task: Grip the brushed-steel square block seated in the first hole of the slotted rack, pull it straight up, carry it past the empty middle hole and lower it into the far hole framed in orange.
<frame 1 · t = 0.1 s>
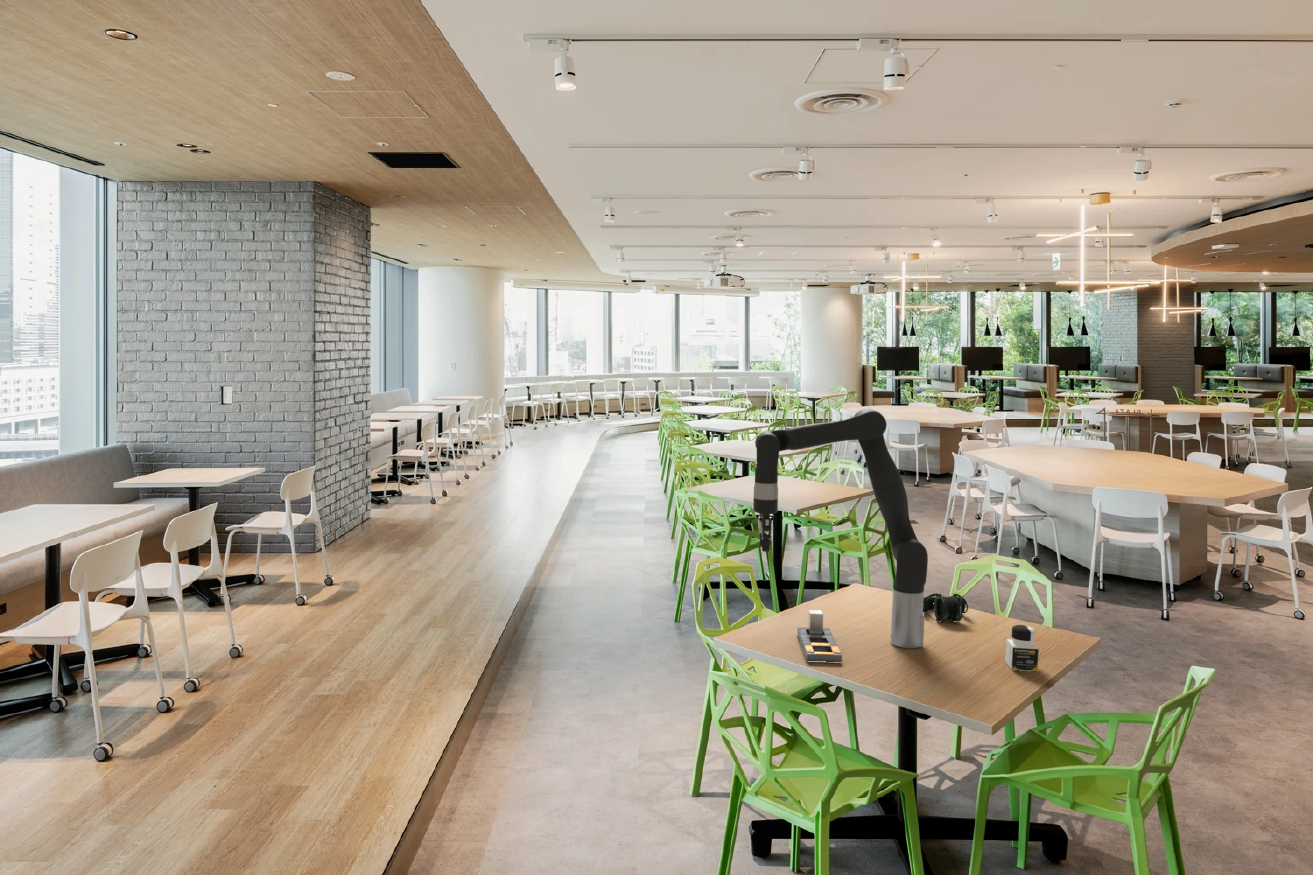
hand: (764, 548, 265), 29 cm above the table, tool pointing down, fingers open, 8 cm apart
medicine bottle: (1021, 667, 247), on the table
steel block: (814, 639, 268), resting in slotted rack
slotted rack: (818, 648, 260), on the table
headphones: (943, 618, 295), on the table
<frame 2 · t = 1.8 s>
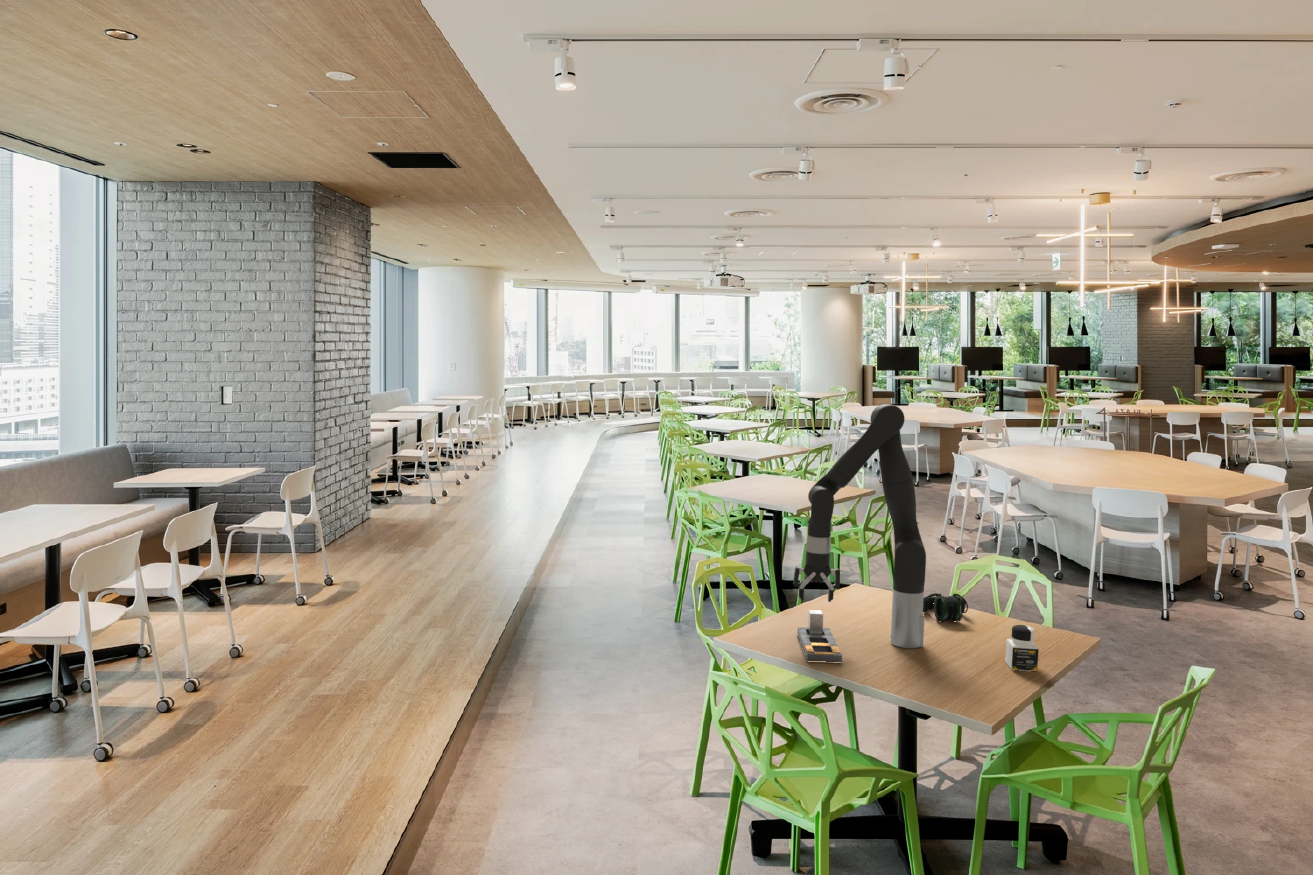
hand: (815, 600, 267), 13 cm above the table, tool pointing down, fingers open, 8 cm apart
nothing on the table moved.
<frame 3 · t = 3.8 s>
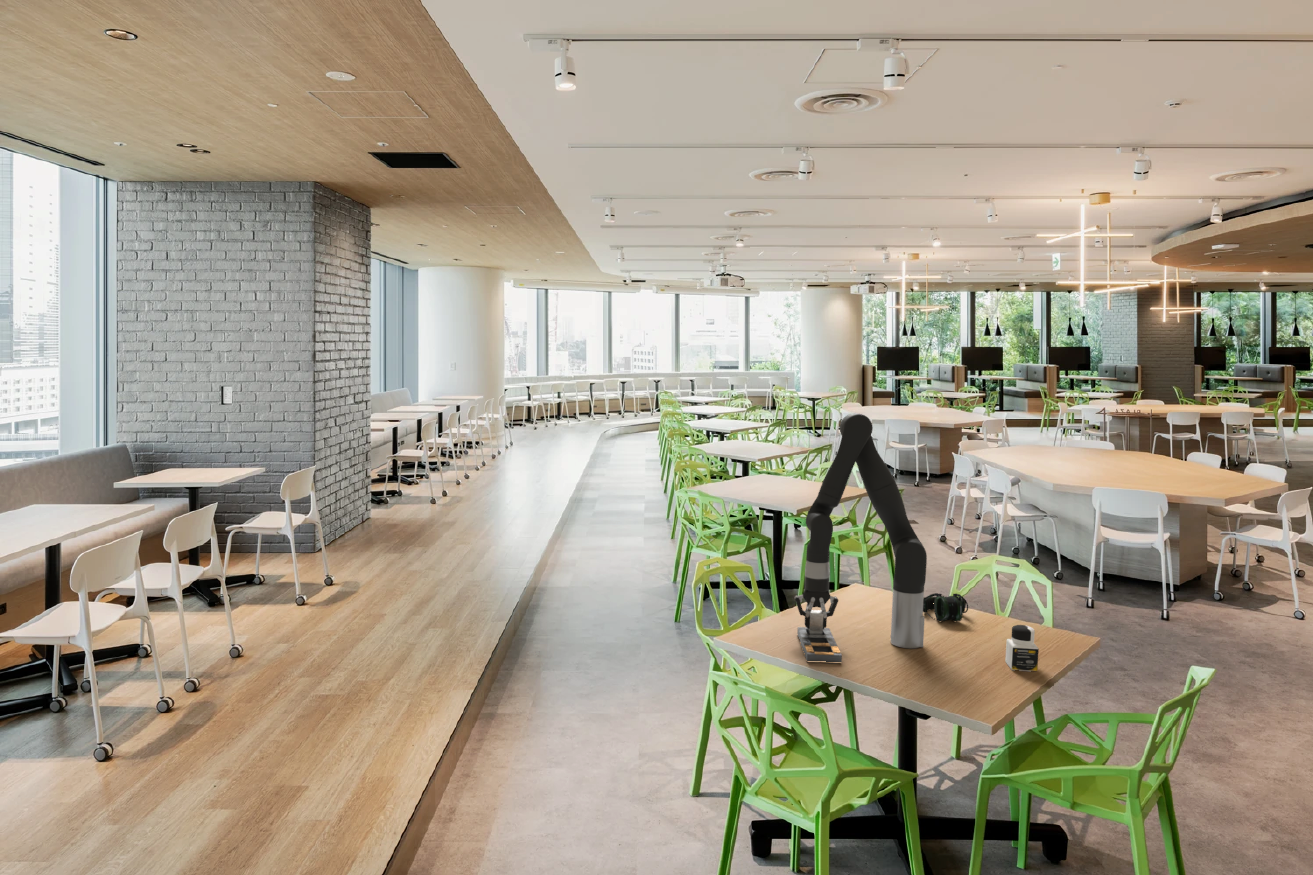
hand: (815, 628, 268), 4 cm above the table, tool pointing down, fingers closed on steel block, 4 cm apart
steel block: (814, 639, 268), resting in slotted rack, touching gripper
everything else where it was.
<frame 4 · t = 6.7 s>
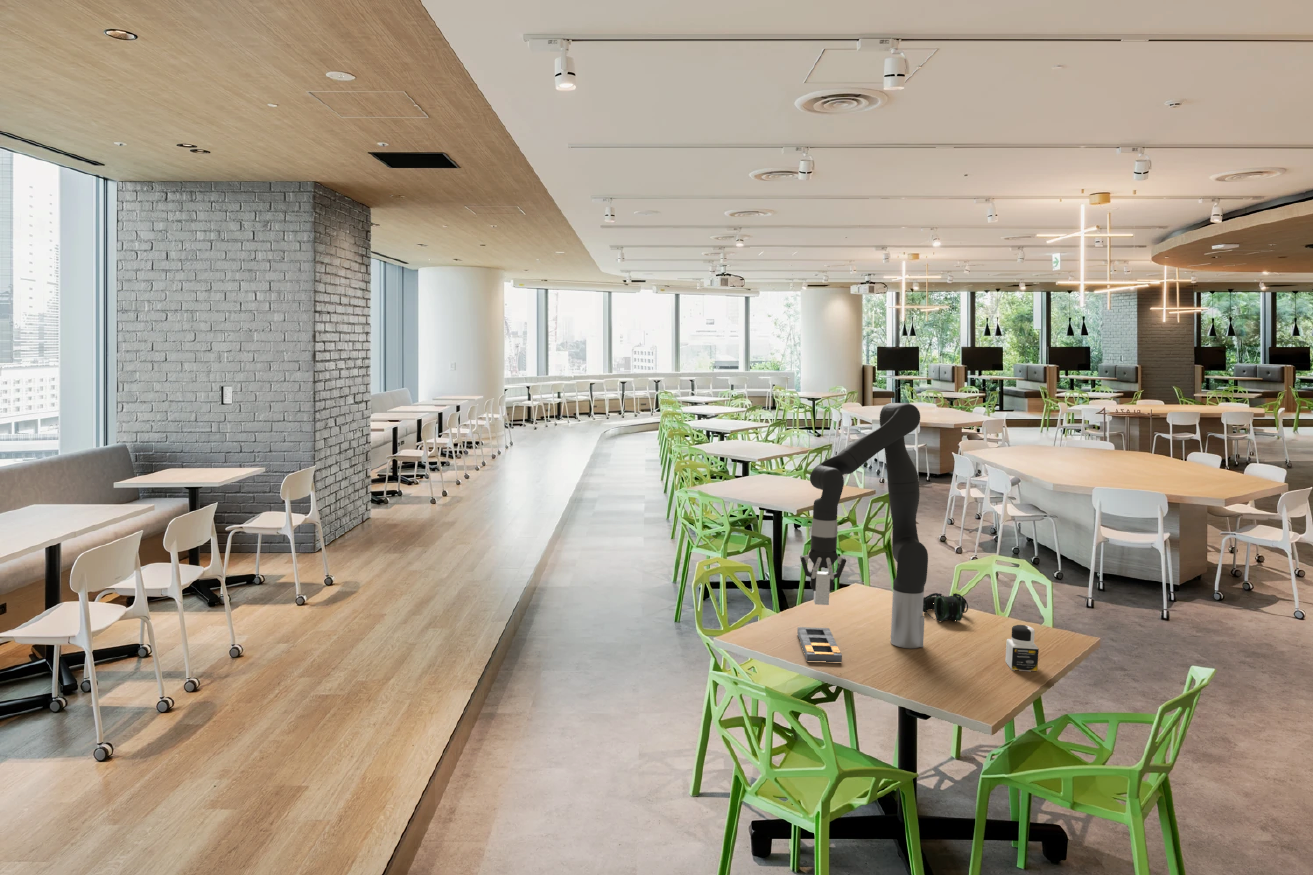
hand: (821, 590, 253), 20 cm above the table, tool pointing down, fingers closed on steel block, 4 cm apart
steel block: (821, 602, 254), point 16 cm above the table, touching gripper
everything else where it was.
when the fingers open (5 cm above the table, at t = 9.8 s): steel block drops 1 cm, resting in slotted rack.
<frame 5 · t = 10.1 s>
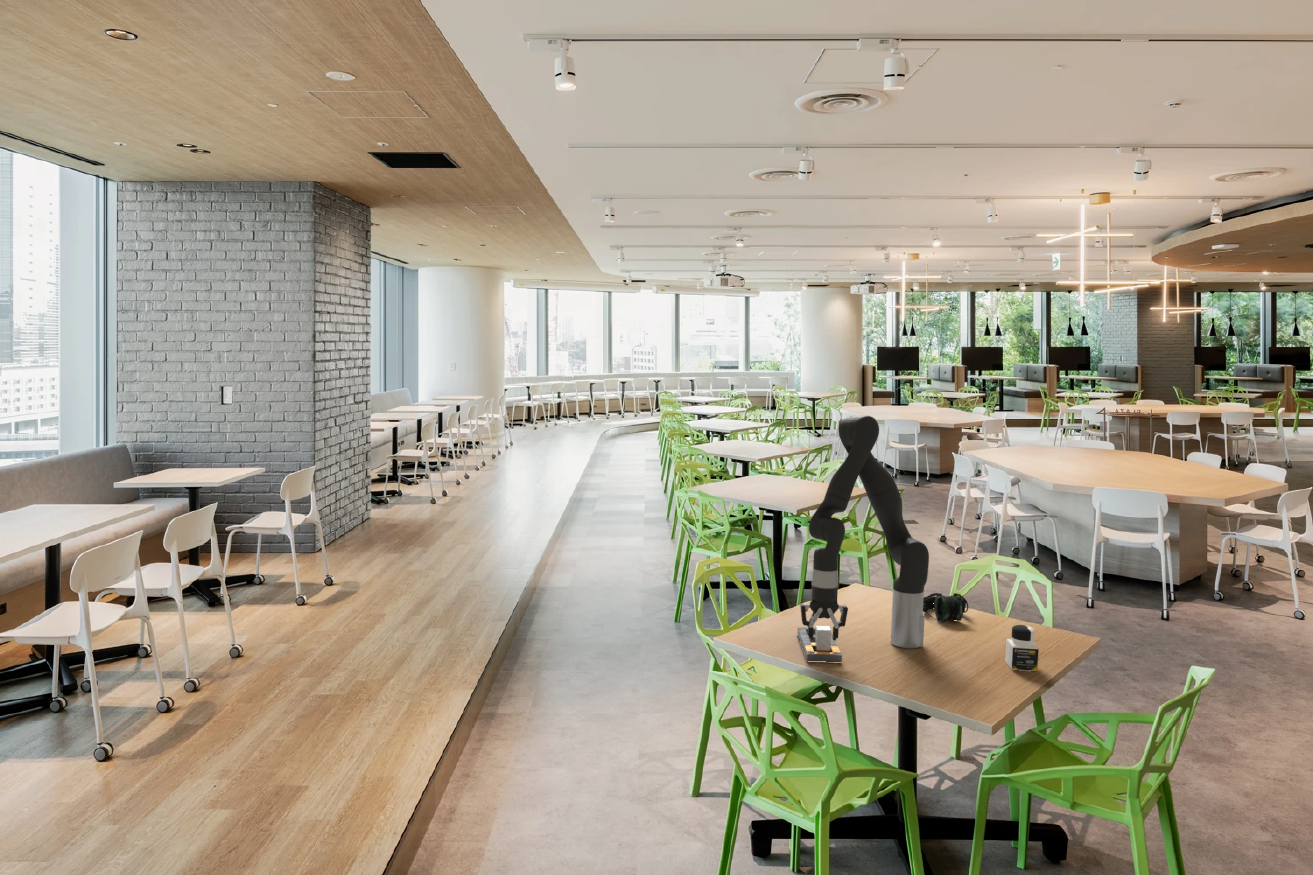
hand: (822, 639, 252), 6 cm above the table, tool pointing down, fingers open, 6 cm apart
steel block: (822, 657, 252), resting in slotted rack
everything else where it was.
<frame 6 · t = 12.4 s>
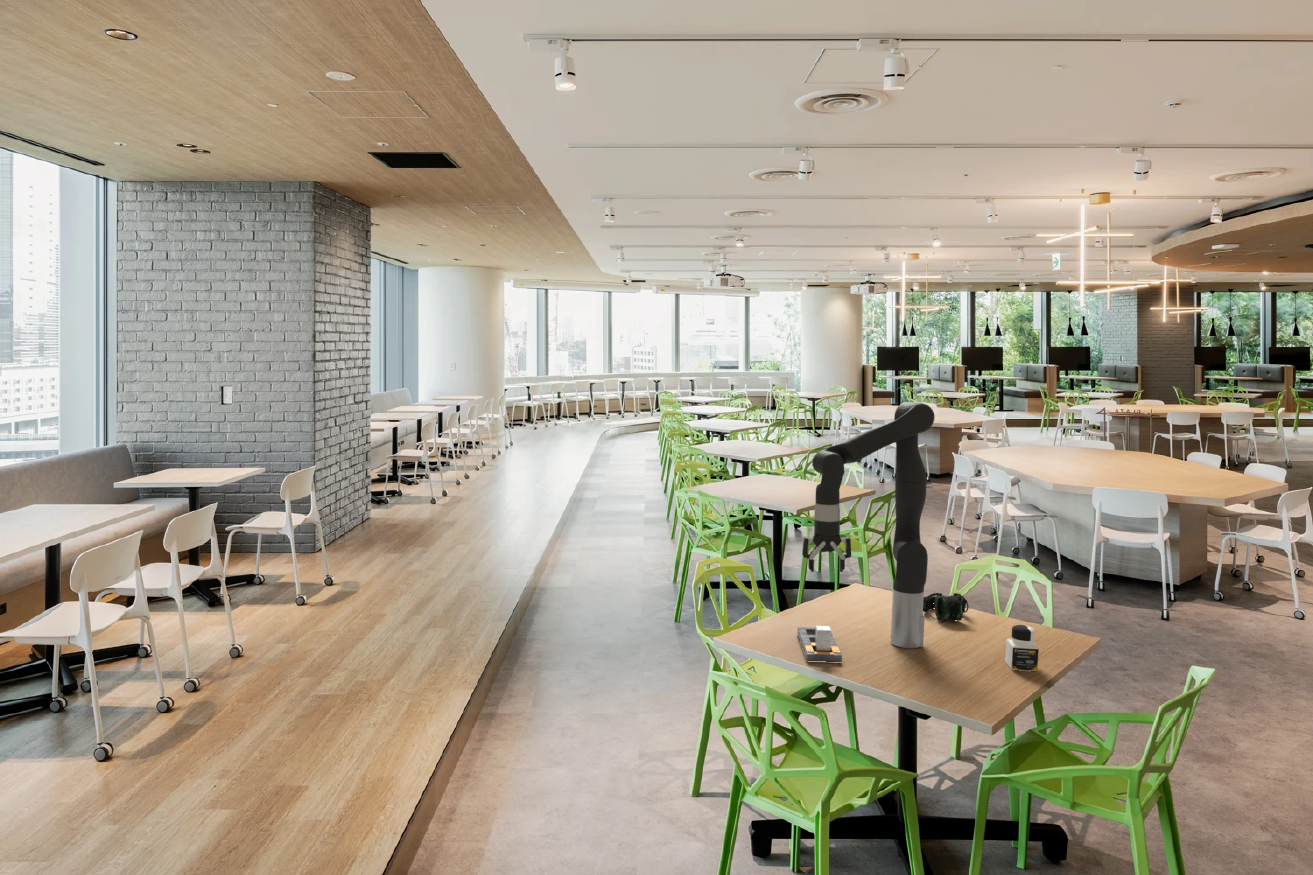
hand: (826, 571, 256), 24 cm above the table, tool pointing down, fingers open, 8 cm apart
nothing on the table moved.
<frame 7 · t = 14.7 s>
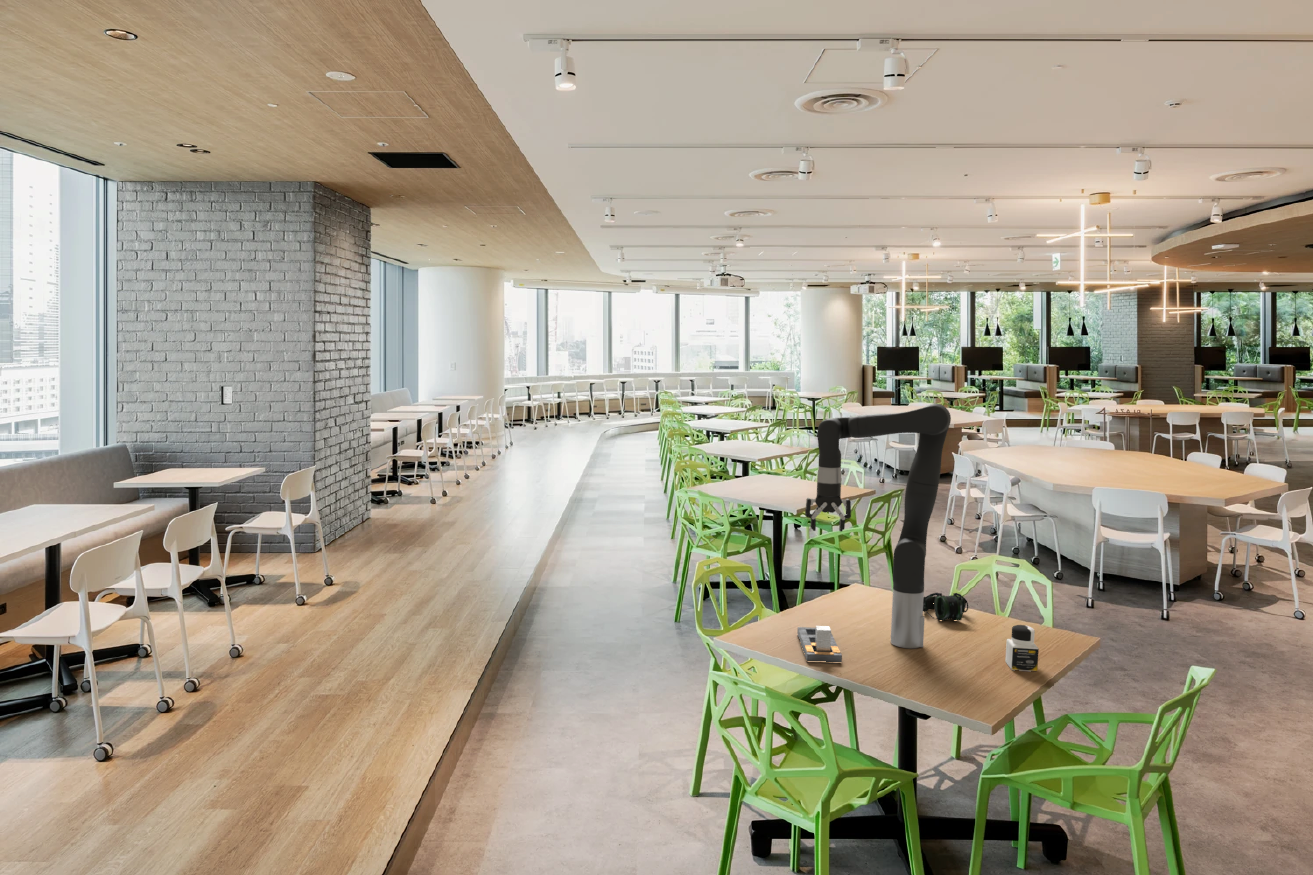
hand: (827, 530, 274), 33 cm above the table, tool pointing down, fingers open, 8 cm apart
nothing on the table moved.
at the end: steel block 0.1 cm from the target spot on the slotted rack, point 0.0 cm above the slotted rack's base; steel block tilted 0°; the gripper is holding nothing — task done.
